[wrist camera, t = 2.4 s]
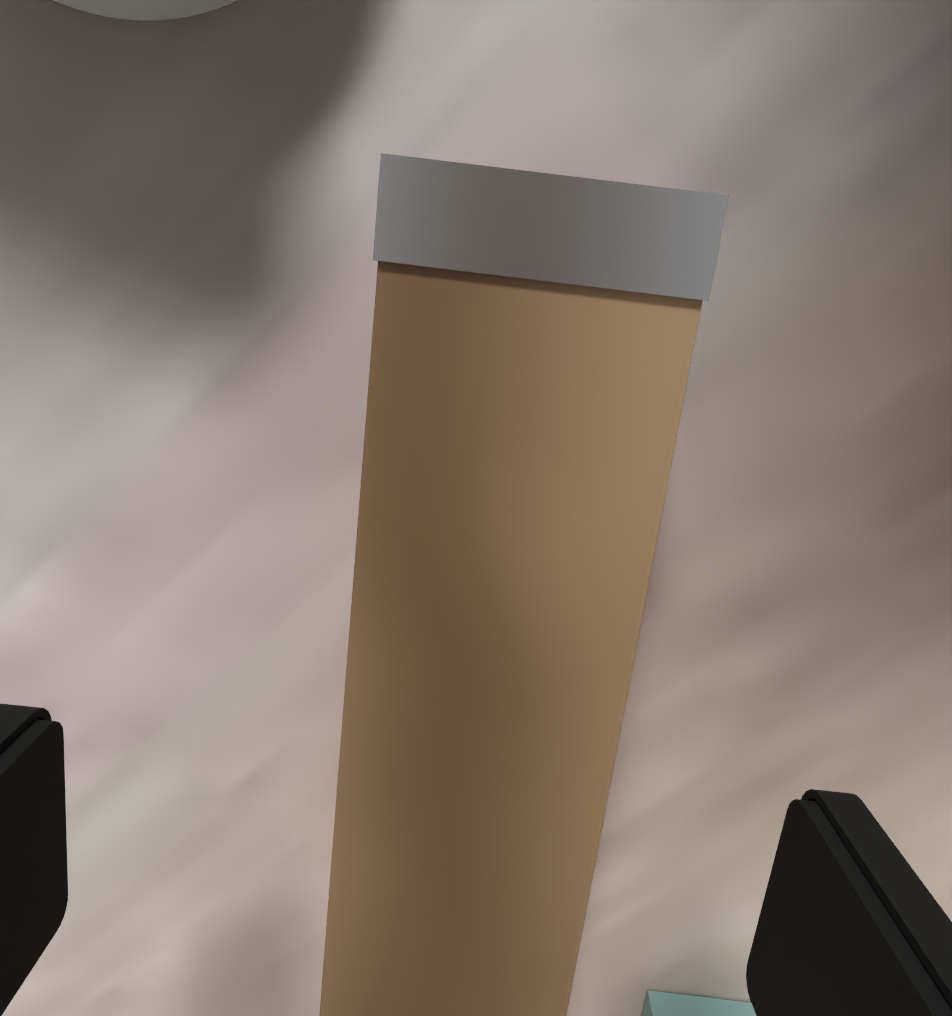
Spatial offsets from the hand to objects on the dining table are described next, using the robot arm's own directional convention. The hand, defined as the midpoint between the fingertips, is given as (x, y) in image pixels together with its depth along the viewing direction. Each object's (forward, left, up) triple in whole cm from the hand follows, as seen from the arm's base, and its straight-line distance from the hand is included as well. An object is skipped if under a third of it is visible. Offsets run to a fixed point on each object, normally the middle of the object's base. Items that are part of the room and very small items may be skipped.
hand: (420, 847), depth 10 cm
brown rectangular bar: (-1, 0, -7) cm, 7 cm away
